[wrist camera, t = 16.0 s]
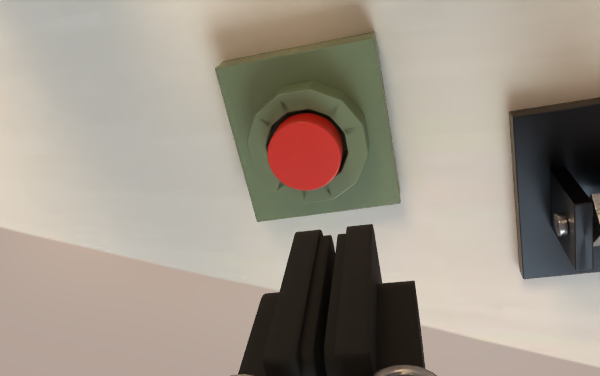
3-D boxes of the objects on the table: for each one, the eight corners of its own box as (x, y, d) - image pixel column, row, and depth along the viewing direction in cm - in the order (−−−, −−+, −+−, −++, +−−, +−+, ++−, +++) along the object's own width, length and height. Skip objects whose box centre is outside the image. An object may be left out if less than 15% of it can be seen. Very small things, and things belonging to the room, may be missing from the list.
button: (265, 119, 34) (259, 128, 32) (335, 106, 33) (333, 115, 32) (281, 183, 36) (276, 195, 34) (348, 174, 35) (347, 185, 33)
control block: (222, 61, 37) (205, 75, 33) (374, 31, 34) (373, 44, 31) (262, 209, 41) (250, 236, 37) (399, 190, 39) (401, 217, 35)
